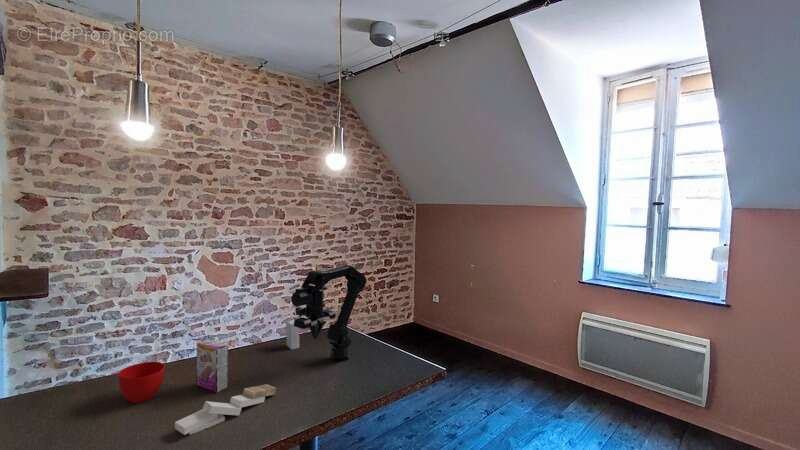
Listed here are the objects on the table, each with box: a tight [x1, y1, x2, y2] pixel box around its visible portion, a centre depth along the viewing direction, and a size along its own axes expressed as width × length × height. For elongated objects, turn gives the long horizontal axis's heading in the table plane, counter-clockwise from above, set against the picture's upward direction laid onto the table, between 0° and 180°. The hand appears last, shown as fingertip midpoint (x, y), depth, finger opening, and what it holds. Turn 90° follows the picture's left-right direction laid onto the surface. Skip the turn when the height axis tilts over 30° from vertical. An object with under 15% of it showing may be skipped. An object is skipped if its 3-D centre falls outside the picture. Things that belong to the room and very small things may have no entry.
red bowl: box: [117, 361, 166, 404], centre depth 128 cm, size 13×17×10 cm
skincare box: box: [285, 319, 300, 350], centre depth 175 cm, size 6×4×12 cm
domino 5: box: [242, 383, 277, 399], centre depth 128 cm, size 2×5×10 cm
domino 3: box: [188, 414, 226, 436], centre depth 113 cm, size 2×5×10 cm
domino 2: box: [202, 400, 242, 416], centre depth 116 cm, size 2×5×10 cm
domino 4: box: [229, 394, 266, 409], centre depth 124 cm, size 2×5×10 cm
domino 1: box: [174, 408, 217, 436], centre depth 111 cm, size 2×5×10 cm
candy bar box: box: [196, 338, 229, 394], centre depth 135 cm, size 11×5×16 cm, turn 65°
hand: (315, 339), depth 152 cm, fingers closed
